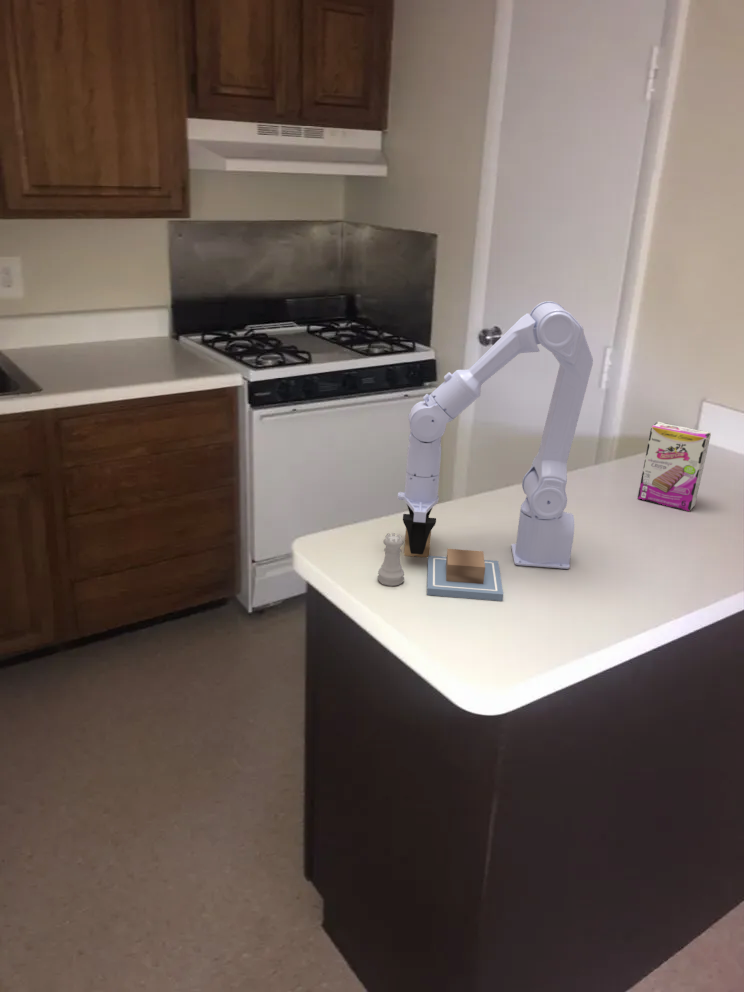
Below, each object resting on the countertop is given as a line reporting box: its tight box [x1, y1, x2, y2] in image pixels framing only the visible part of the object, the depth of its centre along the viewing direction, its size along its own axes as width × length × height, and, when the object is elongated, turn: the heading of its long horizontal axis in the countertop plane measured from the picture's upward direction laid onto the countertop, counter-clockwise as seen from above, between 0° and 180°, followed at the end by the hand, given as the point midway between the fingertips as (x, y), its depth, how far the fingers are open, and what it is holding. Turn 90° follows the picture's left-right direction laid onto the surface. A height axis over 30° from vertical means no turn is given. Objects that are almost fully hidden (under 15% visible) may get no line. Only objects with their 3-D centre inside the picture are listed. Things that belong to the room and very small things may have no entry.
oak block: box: [403, 528, 432, 558], centre depth 146 cm, size 4×4×5 cm
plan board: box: [426, 548, 504, 602], centre depth 136 cm, size 12×12×4 cm
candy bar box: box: [637, 421, 712, 512], centre depth 172 cm, size 11×5×16 cm, turn 58°
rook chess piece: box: [377, 532, 405, 587], centre depth 134 cm, size 4×4×8 cm
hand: (417, 543), depth 146 cm, fingers open, 7 cm apart
